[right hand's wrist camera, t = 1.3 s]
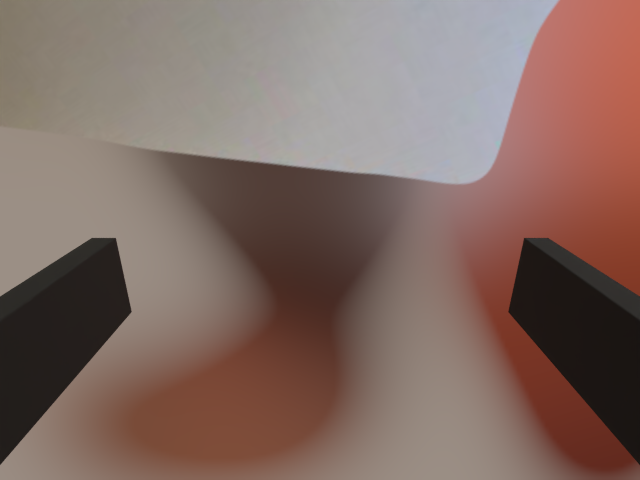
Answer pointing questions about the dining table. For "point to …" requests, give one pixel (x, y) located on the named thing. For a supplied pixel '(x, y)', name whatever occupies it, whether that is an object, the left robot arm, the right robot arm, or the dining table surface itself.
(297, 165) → the dining table surface
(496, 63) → the dining table surface
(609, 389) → the right robot arm
